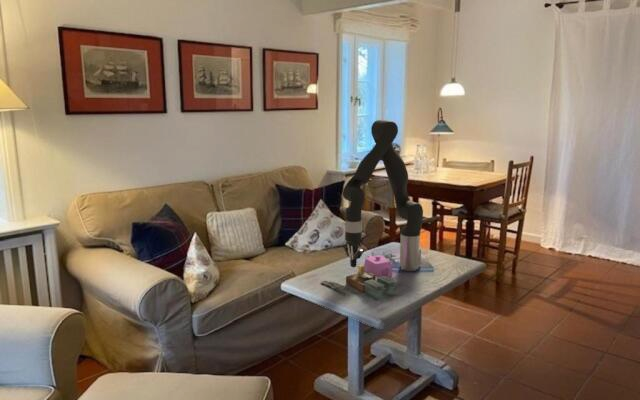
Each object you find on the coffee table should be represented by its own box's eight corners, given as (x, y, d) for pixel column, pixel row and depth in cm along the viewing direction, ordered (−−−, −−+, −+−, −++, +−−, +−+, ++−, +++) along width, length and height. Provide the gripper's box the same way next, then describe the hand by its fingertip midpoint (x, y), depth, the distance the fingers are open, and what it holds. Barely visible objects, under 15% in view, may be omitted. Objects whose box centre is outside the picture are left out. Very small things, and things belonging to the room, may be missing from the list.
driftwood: (318, 284, 222) (318, 279, 222) (330, 280, 226) (330, 276, 226) (347, 299, 206) (347, 295, 206) (359, 295, 210) (359, 291, 209)
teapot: (398, 281, 223) (398, 260, 220) (378, 285, 218) (378, 264, 216) (377, 269, 239) (378, 249, 236) (359, 272, 234) (359, 252, 232)
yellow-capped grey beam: (362, 274, 220) (362, 264, 219) (373, 280, 213) (373, 269, 212) (357, 275, 219) (357, 265, 217) (369, 281, 212) (369, 270, 211)
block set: (365, 279, 226) (365, 267, 224) (396, 294, 209) (396, 281, 207) (346, 284, 220) (346, 272, 218) (376, 300, 203) (376, 287, 201)
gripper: (369, 231, 215) (369, 269, 219) (351, 225, 226) (351, 260, 230) (355, 234, 211) (355, 272, 215) (337, 228, 222) (338, 264, 226)
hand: (353, 266), depth 222 cm, fingers closed
